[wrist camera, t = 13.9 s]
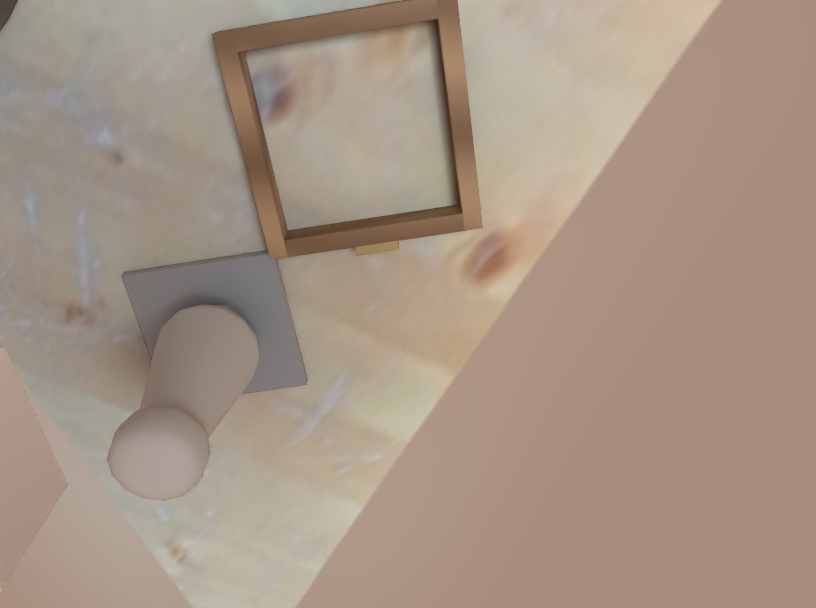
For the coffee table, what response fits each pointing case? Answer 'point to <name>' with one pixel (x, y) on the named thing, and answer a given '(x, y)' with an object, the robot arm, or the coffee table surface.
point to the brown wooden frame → (364, 235)
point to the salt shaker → (184, 401)
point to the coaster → (225, 284)
